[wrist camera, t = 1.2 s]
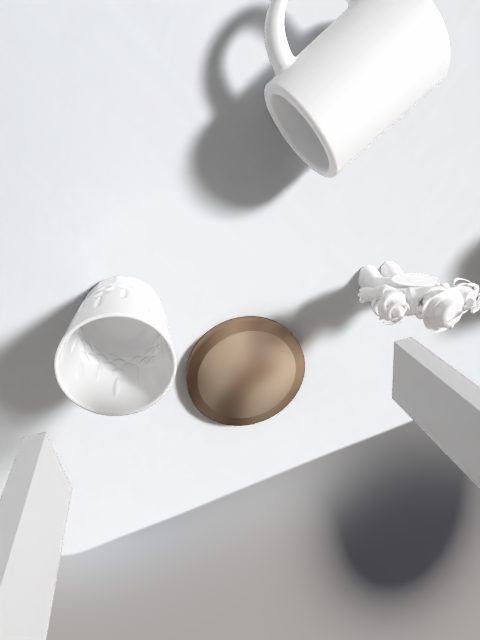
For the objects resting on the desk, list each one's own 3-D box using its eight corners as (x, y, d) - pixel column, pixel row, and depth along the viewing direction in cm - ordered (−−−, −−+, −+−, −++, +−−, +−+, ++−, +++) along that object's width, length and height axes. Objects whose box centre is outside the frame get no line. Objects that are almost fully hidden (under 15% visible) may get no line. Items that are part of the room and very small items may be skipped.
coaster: (181, 420, 42) (182, 427, 41) (191, 313, 37) (192, 319, 36) (289, 417, 45) (293, 424, 44) (310, 318, 40) (315, 323, 39)
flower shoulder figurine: (420, 250, 40) (521, 290, 29) (415, 287, 42) (509, 338, 31) (335, 259, 38) (409, 305, 28) (333, 297, 40) (402, 355, 29)
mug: (400, 92, 34) (470, 79, 26) (308, 175, 35) (350, 184, 28) (324, -61, 28) (384, -129, 21) (218, 42, 29) (241, 11, 22)
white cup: (173, 344, 38) (182, 406, 29) (86, 355, 37) (68, 424, 28) (163, 264, 35) (170, 306, 26) (67, 273, 34) (40, 321, 25)
